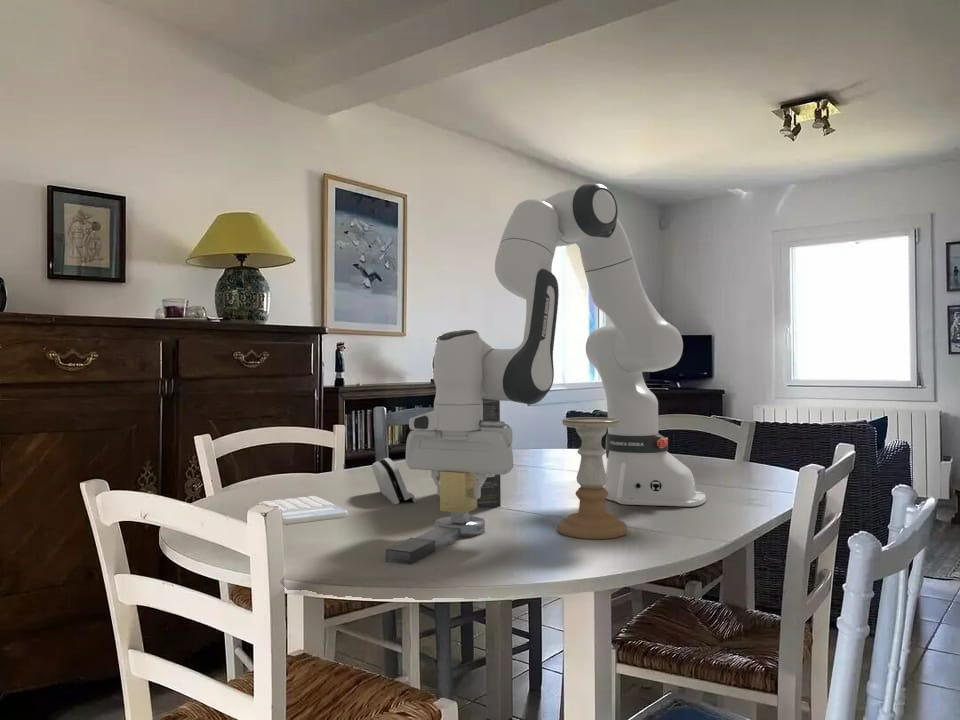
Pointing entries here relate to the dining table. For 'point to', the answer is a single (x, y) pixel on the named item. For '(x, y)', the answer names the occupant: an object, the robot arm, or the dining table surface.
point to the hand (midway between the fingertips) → (458, 496)
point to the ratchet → (436, 538)
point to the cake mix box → (492, 482)
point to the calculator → (307, 509)
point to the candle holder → (592, 484)
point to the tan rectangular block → (457, 491)
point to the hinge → (391, 481)
